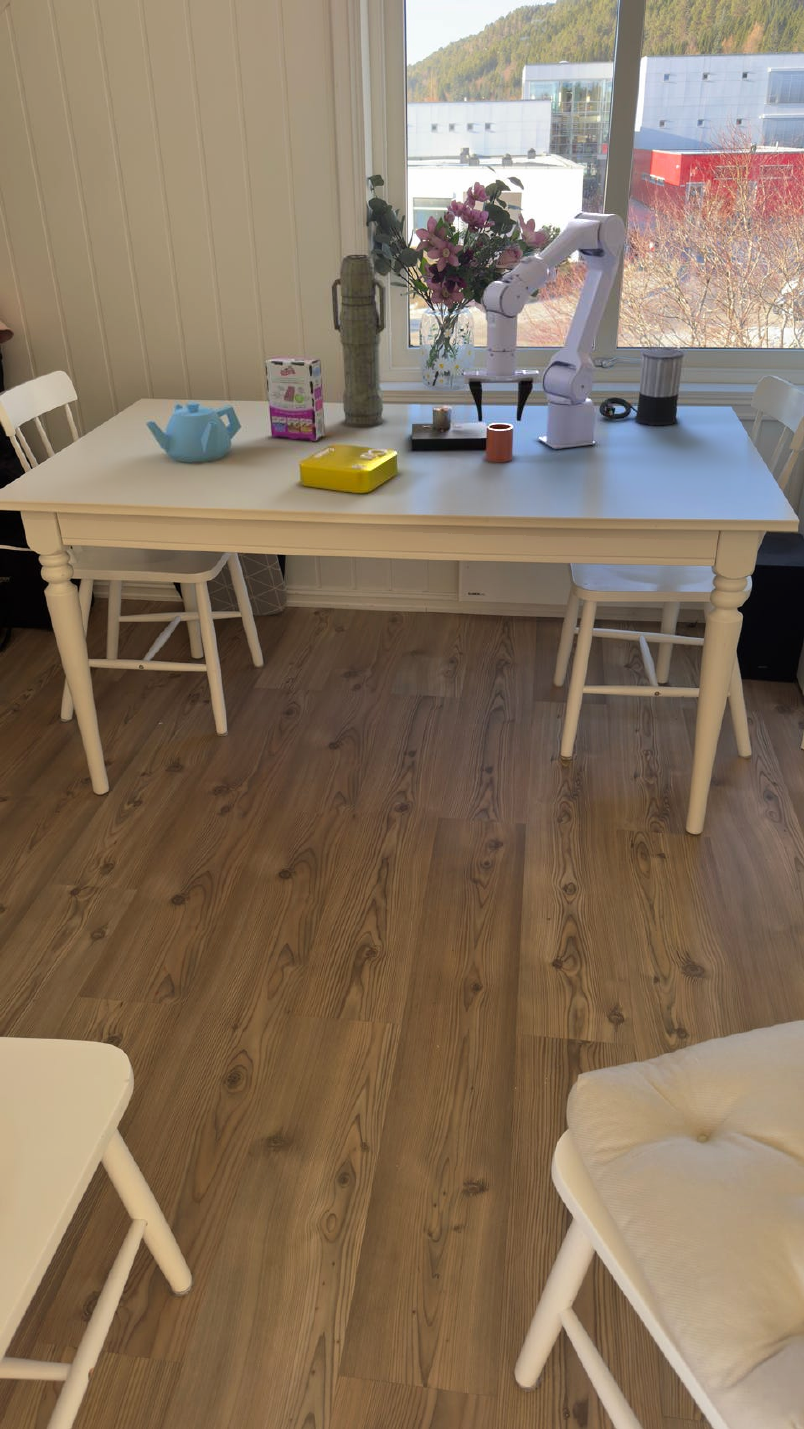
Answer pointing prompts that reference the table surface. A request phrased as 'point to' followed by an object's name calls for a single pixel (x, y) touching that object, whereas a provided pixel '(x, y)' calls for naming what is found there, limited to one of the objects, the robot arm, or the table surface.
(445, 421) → the dial
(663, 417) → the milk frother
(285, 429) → the candy bar box
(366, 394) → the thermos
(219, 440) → the teapot
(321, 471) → the element tile
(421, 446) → the warming plate
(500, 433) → the orange stave barrel
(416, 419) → the table surface
